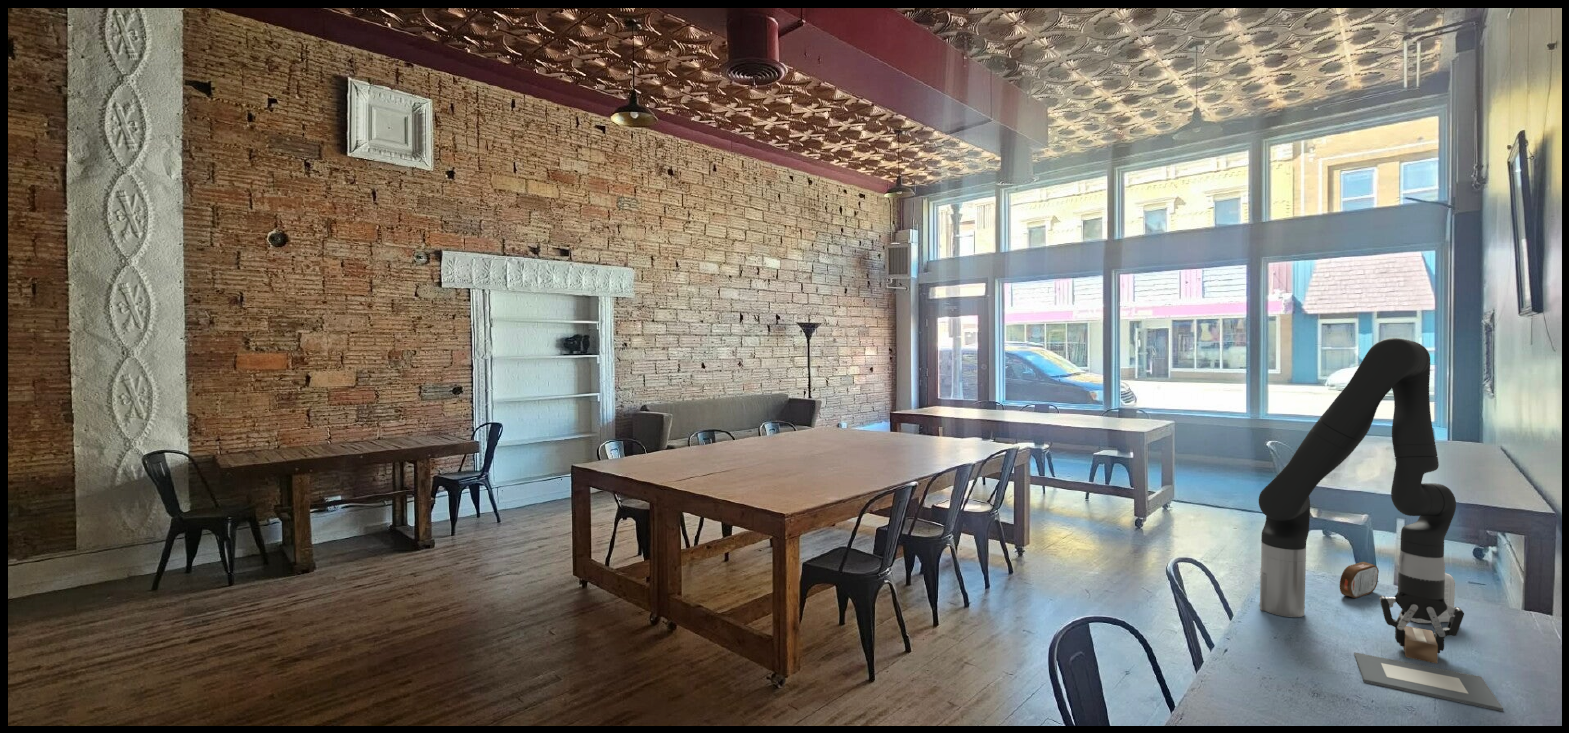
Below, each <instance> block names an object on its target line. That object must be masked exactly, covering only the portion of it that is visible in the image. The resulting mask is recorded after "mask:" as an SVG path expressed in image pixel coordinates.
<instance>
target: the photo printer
mask: <svg viewBox="0 0 1569 733" xmlns="http://www.w3.org/2000/svg"><path fill="white" fill-rule="evenodd" d="M1455 591H1456V582H1455V579H1454V577H1453V576H1452V575H1451V574H1449V573H1447V572H1445V591H1444V601H1445V603H1446V605H1448V606H1452V607H1455V598H1456V597H1455V596H1456V592H1455ZM1438 619H1439V622H1440V623H1449V620H1450V616H1449V614H1448V611H1447V610H1446V611H1444V612H1443V613H1442V614H1441V615H1440V616H1438ZM1410 621H1411V622H1414V623H1418V624H1432V622H1431V621H1427V620H1424V619H1415V618H1411V620H1410Z"/></svg>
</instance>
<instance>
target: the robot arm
mask: <svg viewBox="0 0 1569 733" xmlns="http://www.w3.org/2000/svg"><path fill="white" fill-rule="evenodd" d="M1430 378H1431V356H1430V352H1429V351H1428V349H1427V348H1426V346H1424V345H1422V344H1420V343H1419V342H1417V341H1413V340H1409V339H1404V338H1400V337H1399V338H1398V337H1390V338H1389V337H1388V338H1385V339H1381V340H1379V341H1378V342H1376V343H1374V345H1373V346H1371V347H1370V348H1369V350H1368V351H1367V353H1366V354H1365V356H1364V357H1363V359H1362V361H1361V362H1360V364H1359V366H1358V368H1357V369H1356V370H1355V372H1354V374H1353V375H1352V377H1351V379H1350V380H1349V381H1348V383H1347V385H1345V387H1344V388H1343V390H1342V391H1341V392H1340V393H1339V394H1338V395H1337V396H1336V398H1335V399H1334V400H1333V402H1331V404H1330V405H1329V407H1328V408H1327V409H1326V410H1325V411H1324V412H1323V414H1322V415H1321V416H1320V418H1318V420H1317V421H1316V422H1315V424H1314V425H1312V427H1311V429H1310V430H1309V432H1308V433H1307V435H1306V436H1305V438H1304V439H1303V440H1302V442H1301V443H1300V445H1299V446H1298V448H1297V449H1296V451H1295V452H1294V454H1293V455H1292V457H1291V458H1290V460H1289V461H1288V462H1287V464H1286V466H1285V467H1284V468H1282V470H1281V471H1280V472H1279V473H1278V474H1277V476H1276V477H1274V479H1272V481H1270V482H1269V483H1268V484H1267V485H1266V486H1264V488H1263V489H1262V490H1261V492H1260V493H1259V496H1258V505H1259V506H1258V507H1259V508H1260V510H1261V512H1262V513H1263V515H1265V522H1264V525H1263V528H1262V530H1261V541H1260V543H1261V546H1260V547H1261V548H1260V550H1261V551H1260V552H1261V553H1260V554H1261V555H1260V568H1259V569H1260V576H1259V578H1260V579H1259V610H1260V611H1263V612H1267V613H1269V614H1273V615H1276V616H1280V617H1281V616H1282V617H1286V618H1301V617H1304V616H1305V611H1306V574H1307V573H1306V571H1307V570H1306V568H1307V567H1306V564H1307V557H1306V556H1307V540H1308V536H1309V532H1310V519H1311V500H1310V499H1311V498H1310V495H1311V493H1312V492H1313V491H1314V489H1315V488H1316V487H1317V485H1318V484H1319V483H1320V482H1321V481H1322V480H1323V479H1324V478H1325V477H1327V476H1328V475H1329V474H1330V473H1332V472H1333V471H1334V470H1335V469H1336V468H1338V467H1339V466H1340V465H1341V464H1342V463H1343V462H1345V460H1346V459H1347V458H1348V457H1349V456H1350V455H1351V454H1352V453H1353V452H1354V451H1355V449H1356V448H1357V447H1358V446H1359V444H1360V443H1361V442H1362V441H1363V440H1364V439H1365V437H1366V436H1367V434H1368V432H1369V430H1370V428H1371V426H1372V424H1373V420H1374V419H1375V416H1376V413H1377V410H1378V407H1379V405H1380V403H1381V402H1382V401H1383V399H1384V398H1385V397H1386V395H1387V394H1388V393H1389V392H1390V391H1391V390H1392V394H1393V403H1394V408H1393V417H1392V424H1391V441H1392V448H1393V453H1394V454H1393V455H1394V461H1395V466H1394V467H1395V468H1394V473H1393V478H1392V479H1393V480H1392V485H1391V491H1390V495H1391V496H1390V498H1391V501H1392V504H1393V505H1394V507H1395V508H1396V510H1397V511H1398V512H1400V514H1402V515H1405V516H1409V517H1418V519H1417V521H1415V522H1413V523H1410V524H1406V525H1403V527H1402V528H1401V532H1400V546H1399V547H1400V550H1399V556H1398V564H1397V570H1398V571H1397V572H1398V574H1397V593H1396V594H1395V595H1394V596H1386V595H1380V596H1378V597H1379V598H1378V599H1379V603H1380V608H1381V610H1382V614H1383V618H1384V620H1385V622H1386V624H1387V625H1388V626H1391V627H1393V628H1395V629H1394V630H1395V631H1394V639H1395V642H1396V643H1397V644H1399V646H1400V647H1402V648H1403V647H1404V643H1405V630H1404V628H1405V627H1406V626H1408V625H1407V624H1409V623H1410V621H1411V618H1415V619H1424V620H1427V621H1431V622H1432V623H1431V624H1432V626H1433V628H1434V631H1435V632H1433V634H1434V637H1435V640H1436V642H1437V645H1438V654H1441V652H1443V651H1444V650H1445V638H1446V637H1448V636H1451V637H1456V636H1457V635H1458V632H1459V629H1460V627H1461V624H1462V621H1463V620H1464V616H1465V612H1464V611H1463V610H1462V608H1461V607H1458V606H1454V607H1452V606H1448V605H1446V603H1445V601H1444V591H1445V573H1446V564H1445V537H1446V535H1447V534H1448V531H1449V529H1450V526H1451V524H1452V521H1453V519H1454V516H1455V513H1456V509H1457V501H1456V496H1455V494H1454V493H1453V491H1452V490H1451V489H1450V488H1449V487H1447V485H1444V484H1441V483H1423V482H1422V481H1423V477H1424V475H1425V474H1427V473H1431V472H1434V471H1437V470H1438V468H1439V466H1440V464H1439V457H1438V451H1437V447H1436V441H1435V435H1434V428H1433V422H1432V414H1431V405H1430V404H1431V403H1430V402H1431V401H1430V400H1431V399H1430V382H1431V381H1430V380H1431V379H1430ZM1395 603H1396V604H1397V605H1398V606H1399V608H1400V609H1401V610H1400V612H1399V614H1398V617H1397V618H1396V619H1394V618H1393V616H1392V611H1391V608H1393V607H1394V604H1395ZM1446 610H1447V611H1448V614H1449V616H1450V620H1449V622H1447V626H1446V627H1442V624H1441V622H1439V619H1438V616H1440V615H1441V614H1442V613H1443V612H1444V611H1446Z"/></svg>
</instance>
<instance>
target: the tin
mask: <svg viewBox="0 0 1569 733" xmlns="http://www.w3.org/2000/svg"><path fill="white" fill-rule="evenodd" d="M1378 578H1379V568H1378V566H1377V565H1375V564H1372V563H1370V562H1367V561H1361V562H1358V563H1354V564H1350V565H1348V566H1345V569H1344V570H1343V572H1342V573H1341V576H1340V580H1339V591H1340V593H1341V594H1342V595H1343V596H1347V597H1349V598H1352V599H1358V598H1361V597H1364V596H1366V595H1370V594H1372V593H1373V592H1374V591H1375V590H1376V588H1377V585H1378Z"/></svg>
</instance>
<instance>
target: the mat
mask: <svg viewBox="0 0 1569 733" xmlns="http://www.w3.org/2000/svg"><path fill="white" fill-rule="evenodd" d="M1353 655H1354V658H1355V661H1356V664H1357V666H1358V669H1359V672H1360V675H1361V678H1362V680H1363V683H1367V684H1371V685H1377V686H1380V687H1386V688H1389V689H1395V690H1399V691H1405V692H1407V693H1408V692H1409V693H1413V694H1419V695H1424V696H1429V697H1433V698H1437V699H1442V700H1448V701H1452V702H1458V703H1462V704H1466V705H1469V706H1470V705H1471V706H1475V707H1481V708H1484V709H1488V710H1489V709H1490V710H1494V711H1500V712H1504V707H1503V706H1502V704H1501V702H1500V701H1499V700H1498V699H1497V697H1496V696H1495V695H1494V693H1493V692H1492V690H1491V689H1490V687H1489V686H1488V684H1487V683H1486V681H1485V679H1484V678H1483V677H1482V676H1480V675H1474V674H1468V673H1465V672H1464V673H1463V672H1459V671H1458V672H1457V671H1453V670H1449V669H1443V668H1438V667H1433V666H1426V665H1423V664H1417V663H1412V662H1407V661H1403V660H1402V661H1401V660H1397V659H1392V658H1386V657H1380V656H1375V655H1370V654H1367V653H1360V652H1355V651H1354V652H1353Z"/></svg>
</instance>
